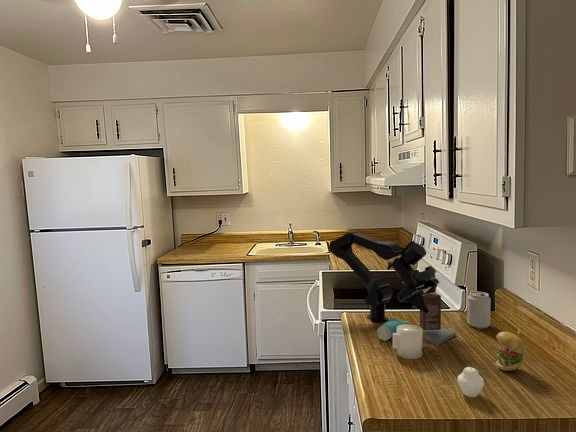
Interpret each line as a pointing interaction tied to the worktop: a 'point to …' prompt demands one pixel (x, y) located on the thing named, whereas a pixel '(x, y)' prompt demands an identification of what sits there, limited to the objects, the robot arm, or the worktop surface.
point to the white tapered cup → (408, 341)
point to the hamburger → (509, 351)
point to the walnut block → (424, 340)
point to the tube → (389, 328)
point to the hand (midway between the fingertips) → (433, 310)
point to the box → (431, 312)
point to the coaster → (438, 335)
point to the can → (479, 309)
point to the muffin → (470, 382)
